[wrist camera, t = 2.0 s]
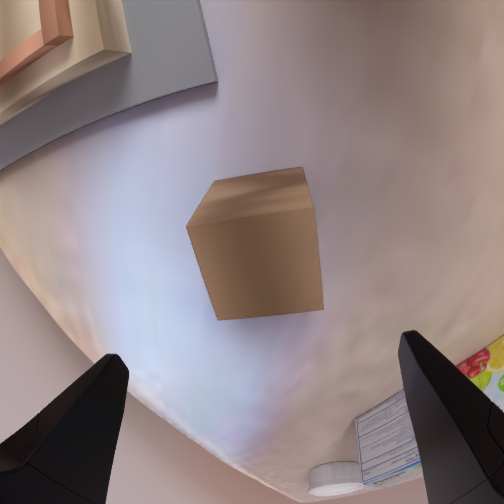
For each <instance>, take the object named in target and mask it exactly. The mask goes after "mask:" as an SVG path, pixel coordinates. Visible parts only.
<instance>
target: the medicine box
mask: <svg viewBox="0 0 504 504" xmlns="http://www.w3.org/2000/svg"><path fill="white" fill-rule="evenodd" d="M355 429H356V437H357V447H358V457H359V469H360V482H361V484H364V485H368V486H377V487H385V486H388V485H391V484H393V483H396V482H398V481H401V480H403V479H406V478H408V477H411V476H413V475H415V474H417V473H420V472H422V471H423V470H422V465H421V461H420V456H419V452H418V447H417V443H416V439H415V435H414V430H413V426H412V423H411V419H410V415H409V411H408V407H407V403H406V398H405V392H404V390H402V391H401V392H399V393H398V394H396V395H395V396H393V397H391V398H390V399H388V400H387V401H385V402H383V403H382V404H380V405H378V406H377V407H375V408H373V409H372V410H370V411H368V412H367V413H365V414H363V415H361V416H359V417H358V418H355Z"/></svg>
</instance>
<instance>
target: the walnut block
mask: <svg viewBox="0 0 504 504" xmlns="http://www.w3.org/2000/svg"><path fill="white" fill-rule="evenodd" d="M186 228H187V231H188V234H189V238H190V241H191V244H192V247H193V250H194V253H195V256H196V259H197V262H198V265H199V268H200V271H201V274H202V277H203V280H204V283H205V286H206V289H207V291H208V294H209V297H210V300H211V303H212V306H213V308H214V311H215V314H216V317H217V320H230V319H242V318H253V317H263V316H273V315H282V314H291V313H300V312H308V311H316V310H324V304H323V291H322V279H321V268H320V257H319V247H318V238H317V229H316V220H315V212H314V206H313V202H312V198H311V195H310V191H309V188H308V184H307V181H306V177H305V174H304V171H303V167H296V168H289V169H282V170H275V171H269V172H263V173H257V174H251V175H245V176H239V177H233V178H228V179H222V180H217V181H214V182H213V184H212V185H211V187H210V188H209V190H208V192H207V193H206V195H205V196H204V198H203V200H202V201H201V203H200V204H199V206H198V208H197V209H196V211H195V213H194V214H193V216H192V217H191V219H190V221H189V222H188V224H187V226H186Z"/></svg>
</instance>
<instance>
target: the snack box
mask: <svg viewBox="0 0 504 504" xmlns="http://www.w3.org/2000/svg"><path fill="white" fill-rule="evenodd" d="M456 367H457V368H458V369H459V370H460V371H461V372H462V373H463V374H465V375H466V376H467V377H468V378H469V379H470V380H471V381H472V382H473V383H474V384H475V385H476V386H477V387H478V388H479V389H480V390H481V391H482V392H483V393H484V394H485V395H487V396H488V397H489V398H490V399H491V402H492V401H493V402H494V403H495V404H496V405H497V406H498V407H499V408H500V409H501V410H502V411H503V412H504V335H503V336H501V337H500V338H498V339H497V340H496V341H494V342H493V343H491V344H490V345H488V346H487V347H485V348H484V349H482V350H480V351H479V352H477V353H476V354H474V355H473V356H471V357H470V358H468V359H466V360H465V361H463V362H461V363H460V364H458V365H456Z"/></svg>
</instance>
